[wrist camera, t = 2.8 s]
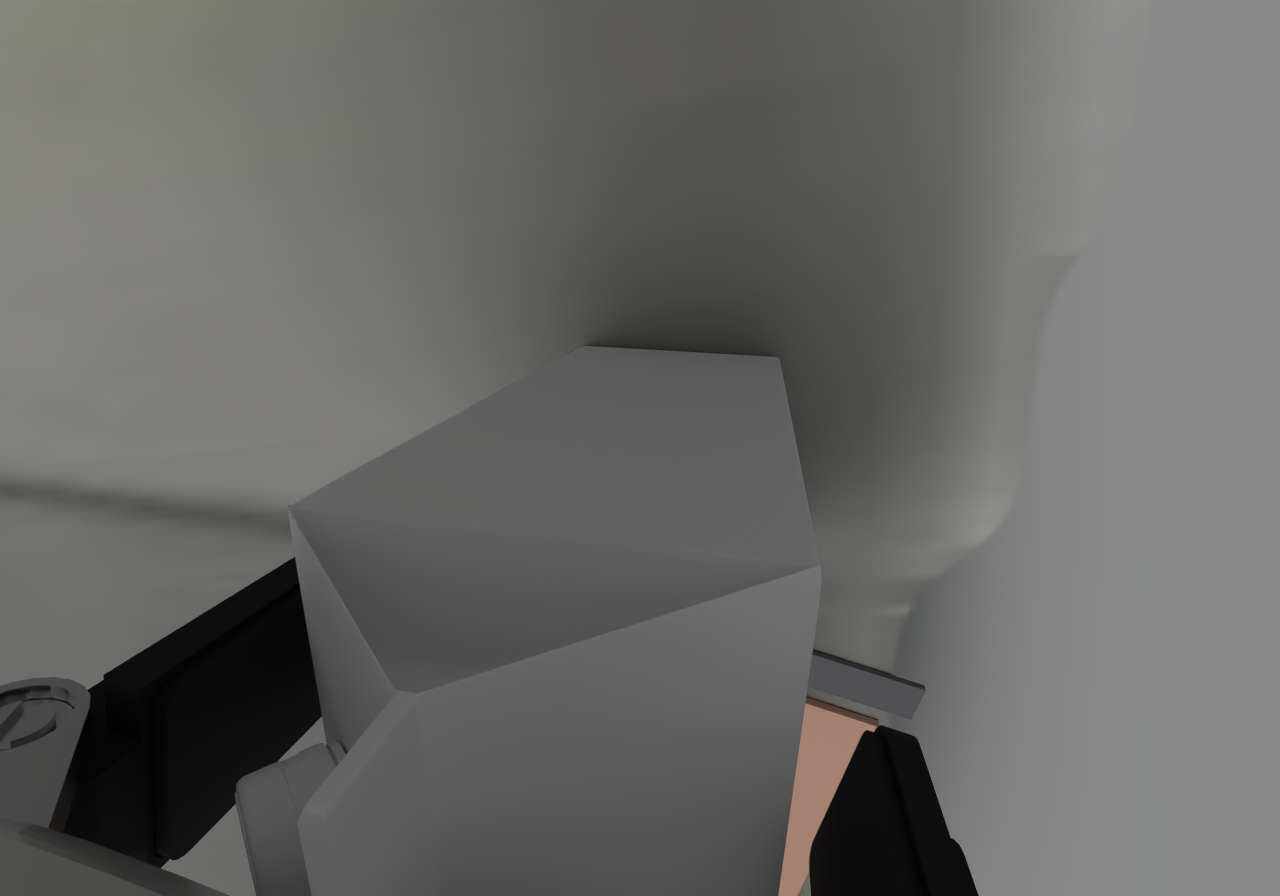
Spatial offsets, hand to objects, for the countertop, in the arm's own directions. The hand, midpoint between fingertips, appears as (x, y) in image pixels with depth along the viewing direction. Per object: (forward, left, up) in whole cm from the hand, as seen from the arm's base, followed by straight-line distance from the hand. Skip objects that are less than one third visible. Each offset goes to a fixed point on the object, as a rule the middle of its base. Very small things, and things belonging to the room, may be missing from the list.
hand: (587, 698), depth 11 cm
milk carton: (-1, 0, -13) cm, 13 cm away
